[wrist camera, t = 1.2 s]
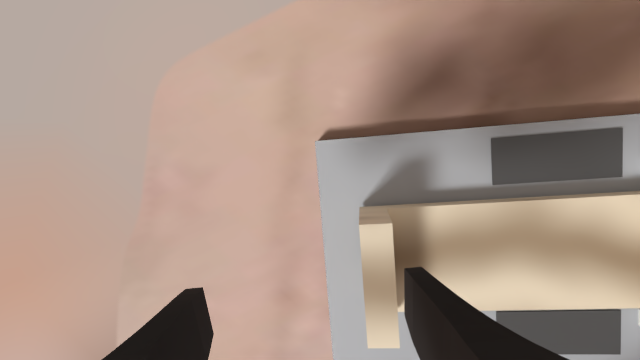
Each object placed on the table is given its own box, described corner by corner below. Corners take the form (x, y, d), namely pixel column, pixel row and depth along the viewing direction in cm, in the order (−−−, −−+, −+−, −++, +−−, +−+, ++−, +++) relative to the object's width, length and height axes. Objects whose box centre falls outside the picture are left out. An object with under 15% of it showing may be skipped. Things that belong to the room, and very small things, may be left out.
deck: (919, 351, 19) (958, 367, 18) (334, 351, 24) (333, 363, 22) (947, 87, 18) (992, 83, 16) (317, 141, 22) (314, 141, 21)
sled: (764, 297, 18) (895, 347, 14) (366, 304, 21) (367, 348, 17) (771, 183, 18) (910, 196, 13) (359, 206, 21) (358, 224, 16)
